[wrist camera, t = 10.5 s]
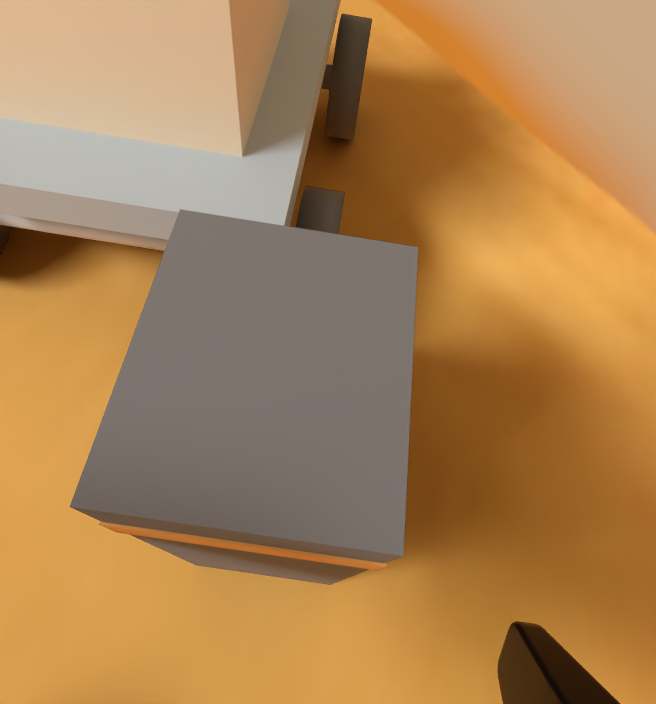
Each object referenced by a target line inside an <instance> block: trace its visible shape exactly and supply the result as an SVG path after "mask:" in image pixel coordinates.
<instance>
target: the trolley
mask: <svg viewBox="0 0 656 704" xmlns="http://www.w3.org/2000/svg"><path fill="white" fill-rule="evenodd" d="M339 5H340V0H0V253H1V252H2V250H3V248H4V246H5V244H6V242H7V239H8V236H9V233H10V229H11V227H17V228H23V229H30V230H36V231H42V232H48V233H55V234H61V235H67V236H73V237H80V238H86V239H92V240H99V241H105V242H111V243H117V244H124V245H130V246H136V247H142V248H149V249H155V250H161V251H165V248H166V246H167V243H168V240H169V238H170V235H171V232H172V230H173V227H174V224H175V221H176V219H177V216H178V213H179V211H180V209H182V210H188V211H194V212H201V213H207V214H213V215H220V216H226V217H232V218H239V219H245V220H251V221H258V222H264V223H270V224H276V225H283V226H289V227H290V225H291V220H292V216H293V211H294V207H295V202H296V198H297V193H298V189H299V184H300V180H301V175H302V171H303V166H304V162H305V157H306V153H307V148H308V144H309V139H310V135H311V130H312V126H313V122H314V117H315V113H316V108H317V104H318V99H319V95H320V90H321V88H322V89H328V90H329V99H328V109H327V120H326V136H330V137H336V138H342V139H348V140H353V138H354V132H355V125H356V119H357V112H358V106H359V100H360V93H361V87H362V81H363V74H364V68H365V61H366V55H367V49H368V42H369V36H370V29H371V23H372V19H371V18H365V17H359V16H353V15H347V14H342V15H341V18H340V23H339V28H338V34H337V40H336V46H335V53H334V60H333V65H327V64H326V63H327V59H328V54H329V50H330V45H331V41H332V36H333V32H334V27H335V23H336V18H337V14H338V9H339ZM344 194H345V192H340V191H334V190H328V189H322V188H316V187H309V186H306V187H305V190H304V193H303V196H302V200H301V204H300V209H299V213H298V219H297V224H296V228H302V229H308V230H314V231H321V232H327V233H333V234H338V233H339V226H340V220H341V213H342V207H343V201H344Z"/></svg>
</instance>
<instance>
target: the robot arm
mask: <svg viewBox="0 0 656 704" xmlns="http://www.w3.org/2000/svg"><path fill="white" fill-rule="evenodd" d="M498 679H499V684H500V690H501V695H502V701H503V704H620V703H619V702H618V701H617V700H616V699H615V698H614V697H613V696H612V695H611V694H610V693H609V692H608V691H607V690H606V689H605V688H604V687H603V686H602V685H601V684H600V683H599V682H598V681H597V680H596V679H595V678H594V677H593V676H591V675H590V674H589V673H588V672H587V671H586V670H585V669H584V668H583V667H582V666H581V665H580V664H579V663H578V662H577V661H576V660H575V659H574V658H573V657H572V656H571V655H570V654H569V653H568V652H567V651H566V650H565V649H564V648H563V647H562V646H561V645H560V644H559V643H558V642H557V641H556V640H555V639H554V638H553V637H552V636H551V635H550V634H549V633H548V632H547V631H546V630H545V629H543V628H542V627H541V626H539V625H537V624H532V623H525V622H518V621H516V622H513V623H512V624H511V625H510V627H509V630H508V633H507V636H506V639H505V642H504V645H503V648H502V651H501V654H500V657H499V661H498Z"/></svg>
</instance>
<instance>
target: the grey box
mask: <svg viewBox="0 0 656 704" xmlns="http://www.w3.org/2000/svg"><path fill="white" fill-rule="evenodd" d="M417 264H418V247H415V246H409V245H403V244H396V243H390V242H384V241H377V240H371V239H365V238H359V237H352V236H346V235H340V234H333V233H327V232H321V231H314V230H308V229H302V228H295V227H289V226H283V225H276V224H270V223H264V222H258V221H251V220H245V219H239V218H232V217H226V216H220V215H213V214H207V213H201V212H194V211H188V210H182V209H180V211H179V213H178V216H177V219H176V221H175V224H174V227H173V230H172V232H171V235H170V238H169V240H168V243H167V246H166V248H165V251H164V254H163V257H162V259H161V262H160V265H159V267H158V270H157V273H156V275H155V278H154V281H153V284H152V286H151V289H150V292H149V294H148V297H147V300H146V302H145V305H144V308H143V310H142V313H141V316H140V319H139V321H138V324H137V327H136V329H135V332H134V335H133V337H132V340H131V343H130V346H129V348H128V351H127V354H126V356H125V359H124V362H123V364H122V367H121V370H120V373H119V375H118V378H117V381H116V383H115V386H114V389H113V391H112V394H111V397H110V400H109V402H108V405H107V408H106V410H105V413H104V416H103V418H102V421H101V424H100V427H99V429H98V432H97V435H96V437H95V440H94V443H93V445H92V448H91V451H90V453H89V456H88V459H87V462H86V464H85V467H84V470H83V472H82V475H81V478H80V480H79V483H78V486H77V489H76V491H75V494H74V497H73V499H72V502H71V505H70V507H71V508H73V509H75V510H78V511H80V512H82V513H84V514H86V515H88V516H91V517H93V518H95V519H97V520H99V521H100V523H99V525H101V526H103V527H105V528H108V529H110V530H112V531H115V532H118V533H125V534H130V535H132V536H134V537H136V538H138V539H140V540H143V541H145V542H147V543H149V544H151V545H153V546H156V547H158V548H160V549H162V550H164V551H166V552H169V553H171V554H173V555H175V556H177V557H179V558H182V559H184V560H186V561H188V562H190V563H192V564H195V565H198V566H205V567H212V568H219V569H226V570H233V571H240V572H247V573H254V574H261V575H267V576H274V577H281V578H288V579H295V580H302V581H309V582H316V583H323V584H329V585H330V584H333V583H335V582H338V581H341V580H343V579H346V578H348V577H351V576H353V575H356V574H358V573H361V572H363V571H366V570H369V569H371V570H379V569H382V568H385V567H387V562H389V561H392V560H394V559H397V558H399V557H402V556H404V535H405V514H406V494H407V473H408V452H409V431H410V410H411V389H412V368H413V347H414V326H415V305H416V285H417Z"/></svg>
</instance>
